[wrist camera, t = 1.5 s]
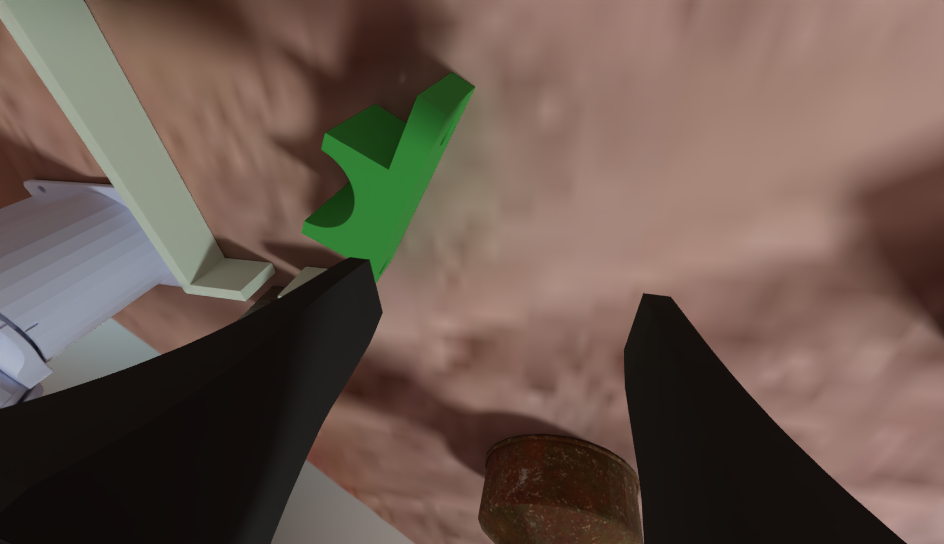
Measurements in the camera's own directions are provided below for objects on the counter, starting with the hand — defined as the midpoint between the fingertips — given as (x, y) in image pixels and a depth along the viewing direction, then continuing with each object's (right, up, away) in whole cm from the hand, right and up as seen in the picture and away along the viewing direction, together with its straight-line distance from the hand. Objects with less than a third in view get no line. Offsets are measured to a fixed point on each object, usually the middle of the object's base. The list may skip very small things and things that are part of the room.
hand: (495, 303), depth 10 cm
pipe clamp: (-4, +6, +9) cm, 12 cm away
